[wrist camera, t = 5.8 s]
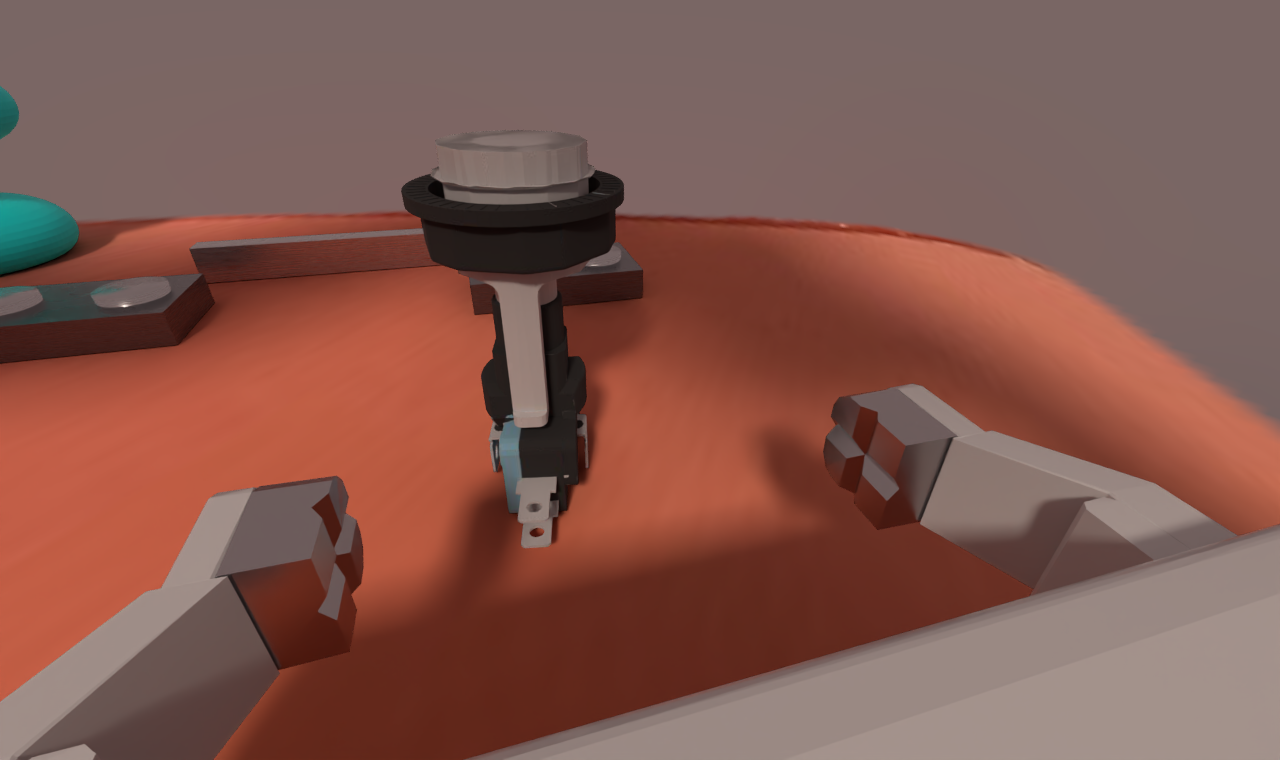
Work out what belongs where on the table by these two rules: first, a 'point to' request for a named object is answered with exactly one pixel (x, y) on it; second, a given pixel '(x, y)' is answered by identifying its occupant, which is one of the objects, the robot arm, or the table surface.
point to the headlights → (175, 304)
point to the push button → (523, 291)
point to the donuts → (29, 217)
